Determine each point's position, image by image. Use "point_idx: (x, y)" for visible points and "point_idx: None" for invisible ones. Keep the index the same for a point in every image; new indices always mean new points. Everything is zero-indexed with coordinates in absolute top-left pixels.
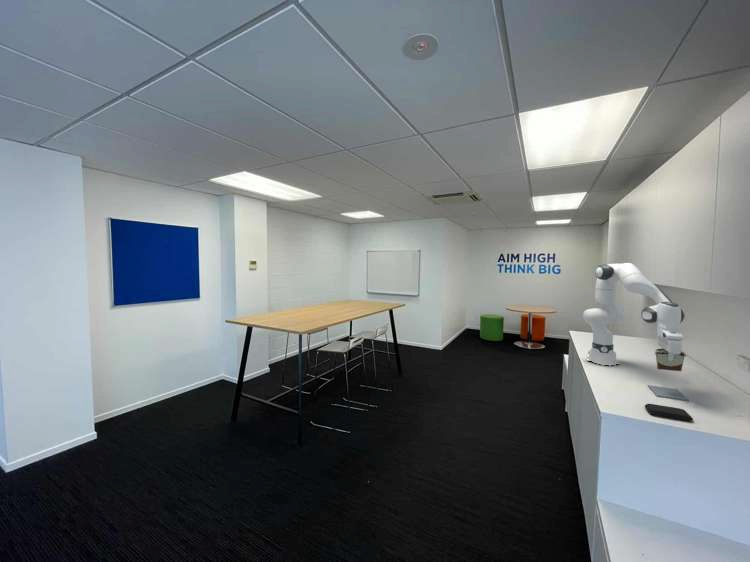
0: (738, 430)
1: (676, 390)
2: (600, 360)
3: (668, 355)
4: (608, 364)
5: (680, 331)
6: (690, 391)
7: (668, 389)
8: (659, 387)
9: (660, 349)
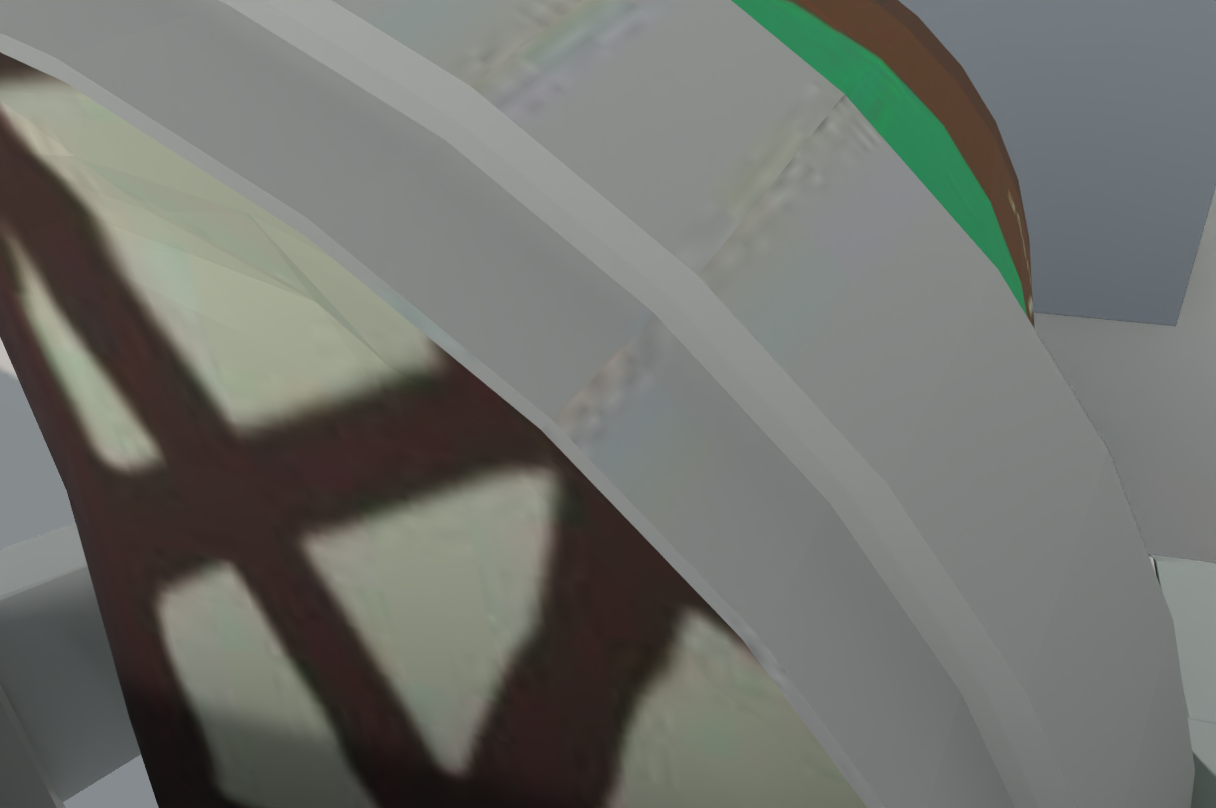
0: (3, 347)
1: (1063, 282)
2: None
3: (42, 554)
4: None
5: None
6: (1183, 510)
7: (1080, 153)
8: (1182, 1)
9: (921, 790)
